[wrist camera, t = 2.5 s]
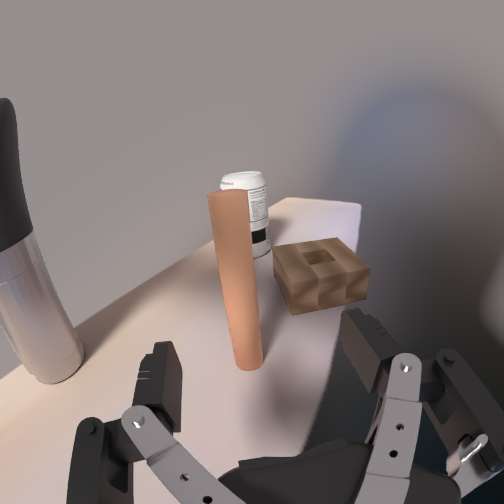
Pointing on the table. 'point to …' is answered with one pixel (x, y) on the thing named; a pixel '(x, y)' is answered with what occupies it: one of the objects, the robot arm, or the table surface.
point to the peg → (237, 274)
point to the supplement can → (253, 206)
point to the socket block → (319, 275)
